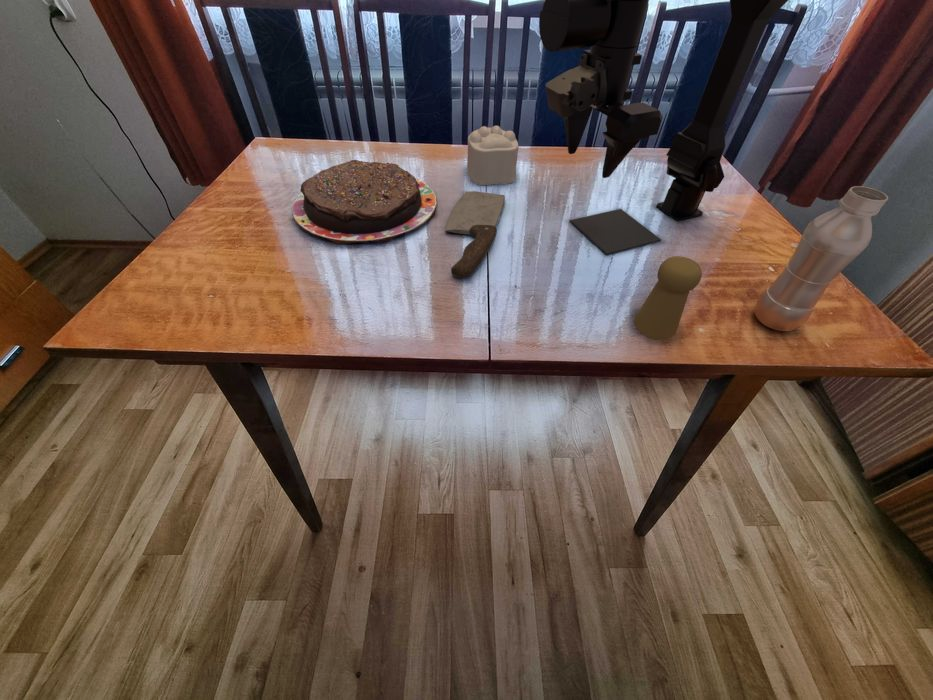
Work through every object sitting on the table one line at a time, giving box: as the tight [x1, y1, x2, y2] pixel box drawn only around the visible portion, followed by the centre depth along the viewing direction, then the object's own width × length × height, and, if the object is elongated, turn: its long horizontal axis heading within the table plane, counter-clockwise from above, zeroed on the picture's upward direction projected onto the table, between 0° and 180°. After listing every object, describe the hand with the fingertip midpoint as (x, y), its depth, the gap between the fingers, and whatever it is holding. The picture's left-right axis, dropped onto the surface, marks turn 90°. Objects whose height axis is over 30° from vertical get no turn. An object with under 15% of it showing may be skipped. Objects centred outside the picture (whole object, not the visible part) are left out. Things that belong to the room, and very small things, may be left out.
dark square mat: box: [569, 208, 662, 256], centre depth 79 cm, size 12×12×1 cm
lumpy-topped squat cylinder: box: [466, 125, 519, 186], centre depth 92 cm, size 10×13×9 cm
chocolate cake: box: [291, 159, 438, 245], centre depth 81 cm, size 28×28×7 cm
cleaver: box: [444, 190, 506, 279], centre depth 77 cm, size 29×10×2 cm, turn 169°
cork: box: [633, 255, 703, 341], centre depth 57 cm, size 6×6×11 cm
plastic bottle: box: [753, 185, 889, 332], centre depth 55 cm, size 6×7×20 cm
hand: (587, 164), depth 65 cm, fingers open, 9 cm apart
